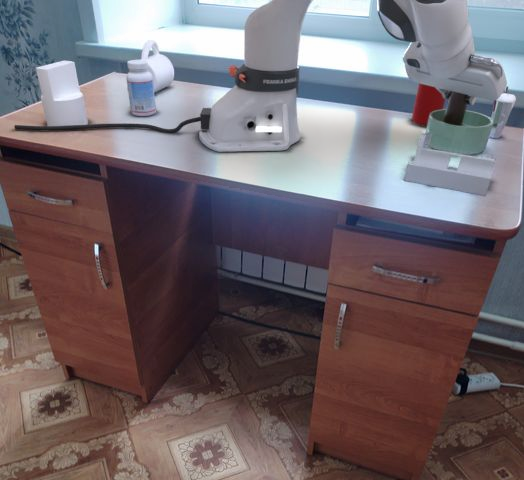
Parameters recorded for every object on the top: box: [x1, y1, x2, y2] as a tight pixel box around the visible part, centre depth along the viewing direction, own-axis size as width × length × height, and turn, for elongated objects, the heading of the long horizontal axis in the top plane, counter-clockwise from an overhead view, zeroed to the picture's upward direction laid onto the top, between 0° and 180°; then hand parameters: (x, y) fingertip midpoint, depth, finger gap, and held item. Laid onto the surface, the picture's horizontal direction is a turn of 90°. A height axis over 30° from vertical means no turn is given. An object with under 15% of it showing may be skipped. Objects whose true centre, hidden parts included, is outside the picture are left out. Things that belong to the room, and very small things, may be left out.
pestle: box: [442, 91, 468, 126], centre depth 107 cm, size 5×5×12 cm
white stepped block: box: [35, 60, 89, 126], centre depth 112 cm, size 9×9×12 cm
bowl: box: [424, 108, 493, 156], centre depth 110 cm, size 13×13×6 cm
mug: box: [128, 39, 175, 94], centre depth 136 cm, size 8×10×12 cm
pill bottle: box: [125, 59, 157, 117], centre depth 120 cm, size 6×6×11 cm
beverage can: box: [411, 83, 446, 127], centre depth 120 cm, size 7×7×12 cm
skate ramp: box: [403, 132, 497, 197], centre depth 97 cm, size 15×13×5 cm
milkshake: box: [489, 85, 517, 139], centre depth 115 cm, size 5×5×10 cm
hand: (459, 99), depth 107 cm, fingers closed on pestle, 4 cm apart
